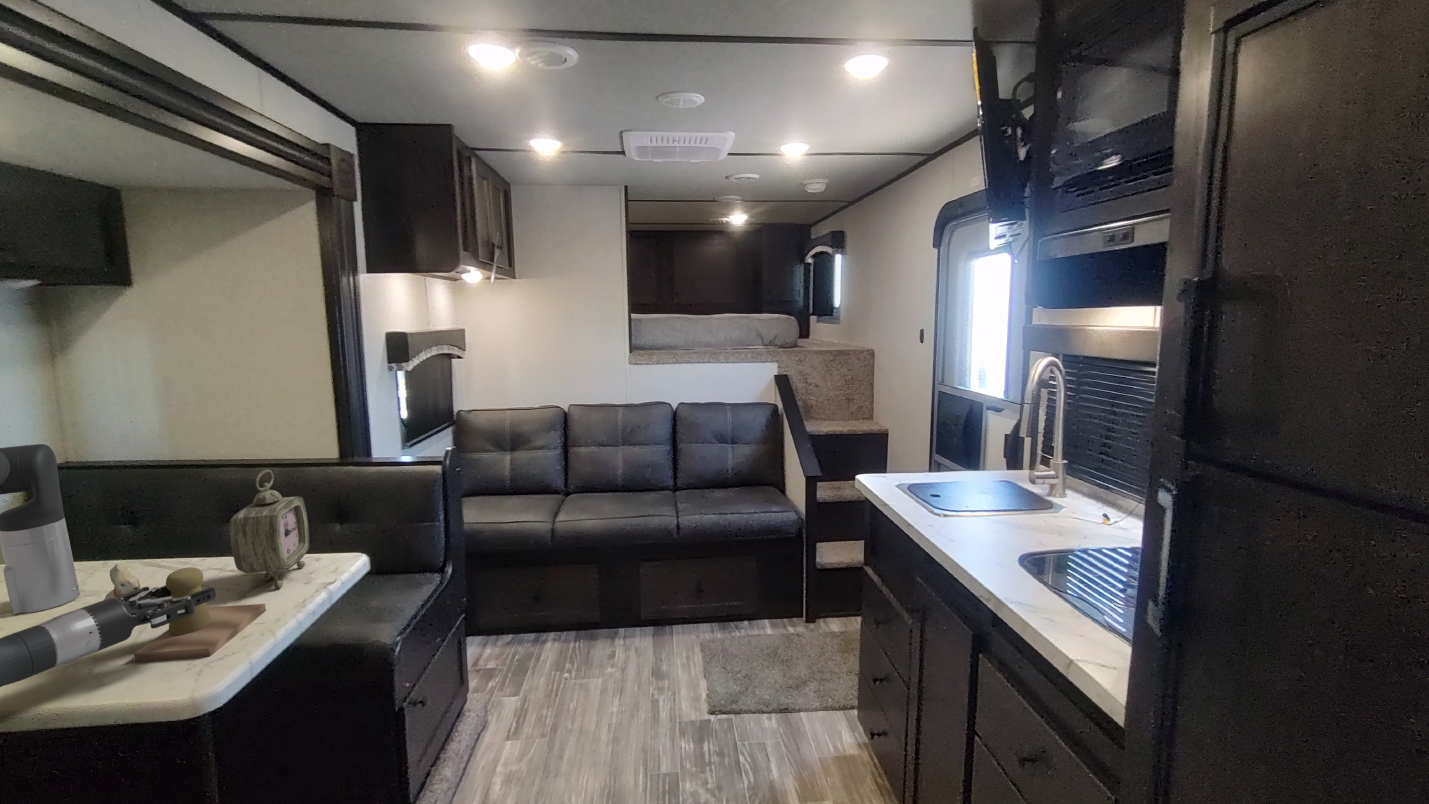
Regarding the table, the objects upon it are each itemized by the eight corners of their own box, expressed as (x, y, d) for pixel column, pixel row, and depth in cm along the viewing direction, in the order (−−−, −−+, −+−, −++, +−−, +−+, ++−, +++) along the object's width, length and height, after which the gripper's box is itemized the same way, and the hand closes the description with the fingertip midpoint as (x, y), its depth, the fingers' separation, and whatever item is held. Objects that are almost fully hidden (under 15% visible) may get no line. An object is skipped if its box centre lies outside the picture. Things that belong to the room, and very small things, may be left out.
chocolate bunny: (107, 621, 119) (98, 572, 118) (102, 608, 124) (93, 562, 123) (145, 610, 123) (137, 563, 122) (139, 598, 128) (131, 553, 127)
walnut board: (210, 656, 107) (208, 648, 106) (134, 661, 105) (133, 653, 105) (266, 610, 122) (265, 603, 122) (201, 614, 121) (199, 607, 121)
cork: (163, 637, 110) (156, 581, 107) (174, 619, 115) (167, 566, 113) (206, 630, 112) (200, 575, 110) (214, 613, 118) (208, 561, 115)
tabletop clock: (284, 591, 130) (268, 478, 126) (236, 596, 129) (218, 481, 124) (313, 563, 144) (300, 461, 140) (270, 567, 143) (255, 463, 138)
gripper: (104, 618, 95) (221, 575, 109) (56, 602, 100) (173, 563, 115) (112, 662, 96) (226, 614, 111) (64, 644, 101) (179, 600, 116)
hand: (199, 588), depth 113 cm, fingers open, 8 cm apart
